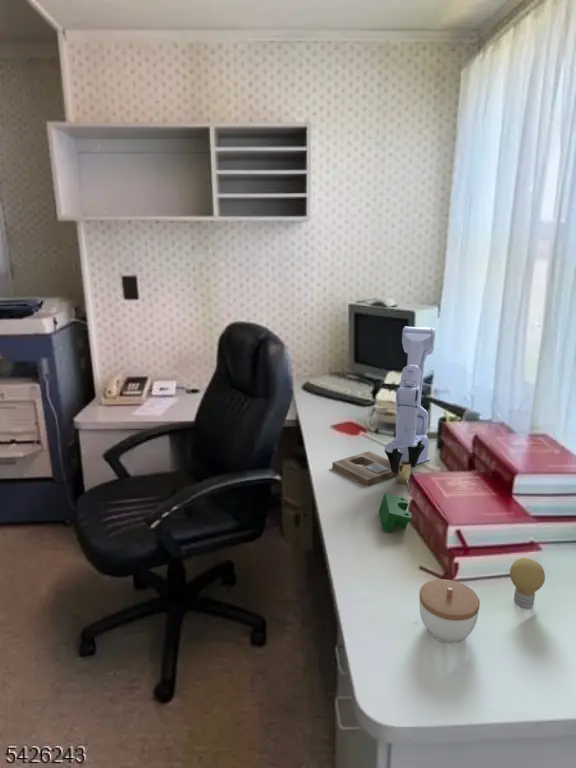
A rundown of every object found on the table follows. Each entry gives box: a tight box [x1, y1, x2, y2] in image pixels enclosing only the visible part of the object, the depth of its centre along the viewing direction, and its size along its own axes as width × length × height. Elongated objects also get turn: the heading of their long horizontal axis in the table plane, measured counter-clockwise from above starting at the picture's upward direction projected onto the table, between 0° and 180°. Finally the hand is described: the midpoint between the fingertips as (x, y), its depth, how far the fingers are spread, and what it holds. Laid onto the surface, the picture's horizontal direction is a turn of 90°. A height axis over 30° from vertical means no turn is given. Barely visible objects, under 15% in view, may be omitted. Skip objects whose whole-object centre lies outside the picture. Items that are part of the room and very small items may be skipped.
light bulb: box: [509, 557, 546, 610], centre depth 110 cm, size 6×6×10 cm
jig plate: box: [331, 450, 397, 487], centre depth 174 cm, size 16×16×2 cm
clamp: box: [378, 492, 413, 533], centre depth 142 cm, size 12×6×9 cm, turn 170°
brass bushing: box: [395, 461, 412, 485], centre depth 166 cm, size 4×4×6 cm
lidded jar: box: [419, 578, 481, 644], centre depth 102 cm, size 11×11×9 cm
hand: (403, 469), depth 165 cm, fingers open, 7 cm apart
